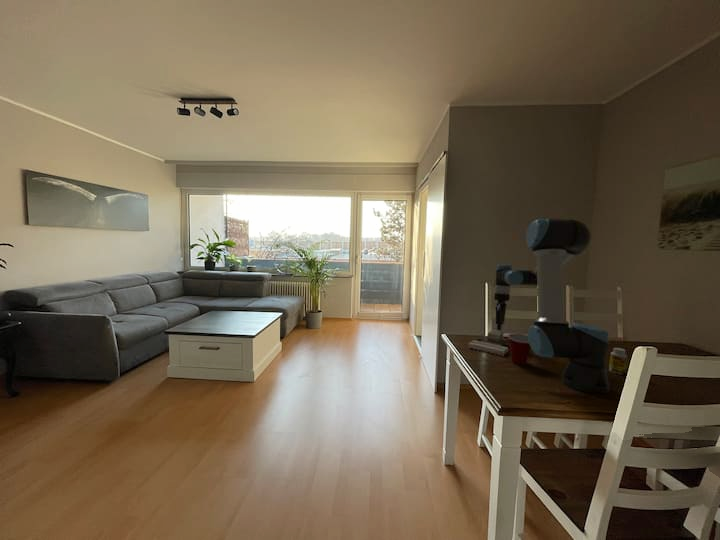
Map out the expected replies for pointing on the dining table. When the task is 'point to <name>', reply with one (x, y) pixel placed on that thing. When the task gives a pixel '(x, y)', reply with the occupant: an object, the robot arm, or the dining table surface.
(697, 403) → the dining table surface
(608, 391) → the robot arm
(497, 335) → the sage block
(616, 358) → the supplement bottle
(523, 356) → the plastic cup
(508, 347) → the trap deck
